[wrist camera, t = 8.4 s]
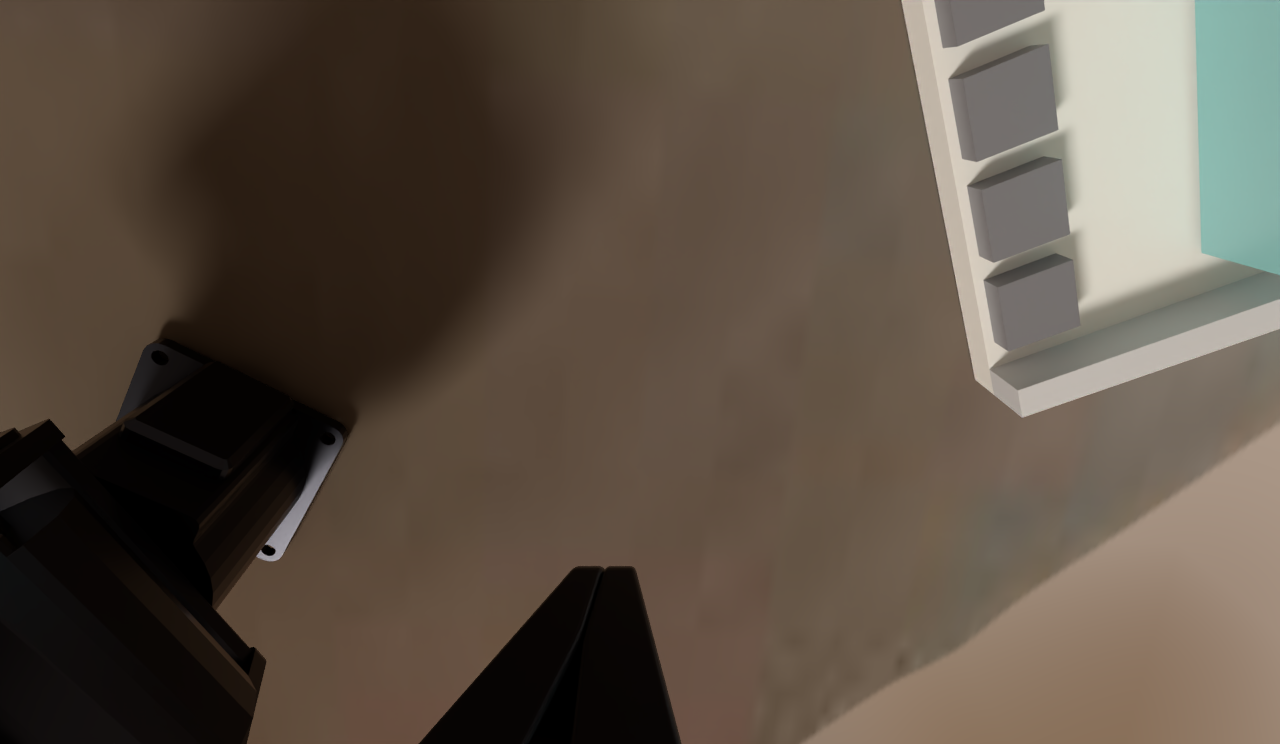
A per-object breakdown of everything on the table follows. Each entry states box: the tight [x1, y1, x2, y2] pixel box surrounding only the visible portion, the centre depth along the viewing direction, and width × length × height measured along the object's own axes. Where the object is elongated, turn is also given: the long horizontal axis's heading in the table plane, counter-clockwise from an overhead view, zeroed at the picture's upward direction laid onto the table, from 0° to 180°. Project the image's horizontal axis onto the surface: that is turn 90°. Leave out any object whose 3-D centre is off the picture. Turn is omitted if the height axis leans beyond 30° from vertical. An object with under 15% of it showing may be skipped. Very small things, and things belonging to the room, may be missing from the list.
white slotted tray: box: [901, 0, 1280, 417], centre depth 17 cm, size 11×15×3 cm
